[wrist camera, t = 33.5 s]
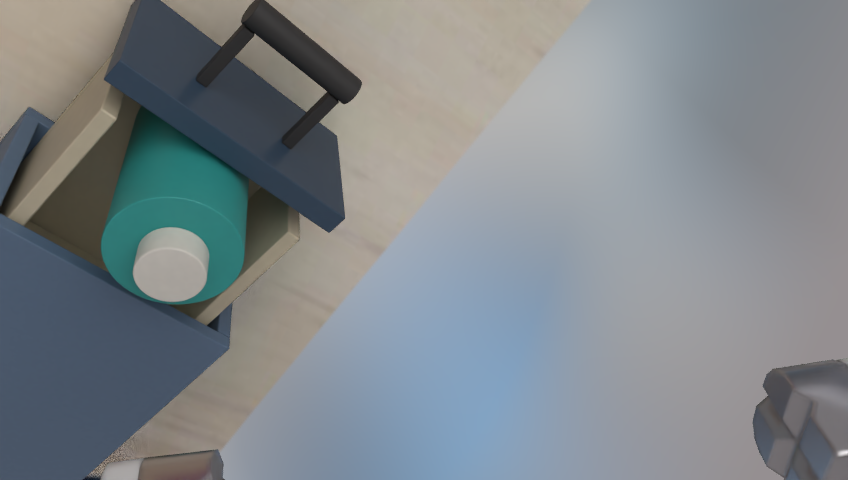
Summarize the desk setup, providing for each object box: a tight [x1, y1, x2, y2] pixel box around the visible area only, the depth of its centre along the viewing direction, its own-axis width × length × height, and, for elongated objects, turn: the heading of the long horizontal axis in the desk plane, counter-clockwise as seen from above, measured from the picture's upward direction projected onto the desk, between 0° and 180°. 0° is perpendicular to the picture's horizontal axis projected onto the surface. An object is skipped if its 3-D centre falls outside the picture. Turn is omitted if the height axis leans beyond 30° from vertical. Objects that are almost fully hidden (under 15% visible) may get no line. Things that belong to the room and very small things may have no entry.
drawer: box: [0, 0, 362, 326], centre depth 41 cm, size 20×12×8 cm, turn 134°
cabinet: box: [0, 107, 232, 480], centre depth 46 cm, size 17×14×10 cm
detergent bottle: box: [101, 106, 249, 304], centre depth 39 cm, size 6×6×12 cm
